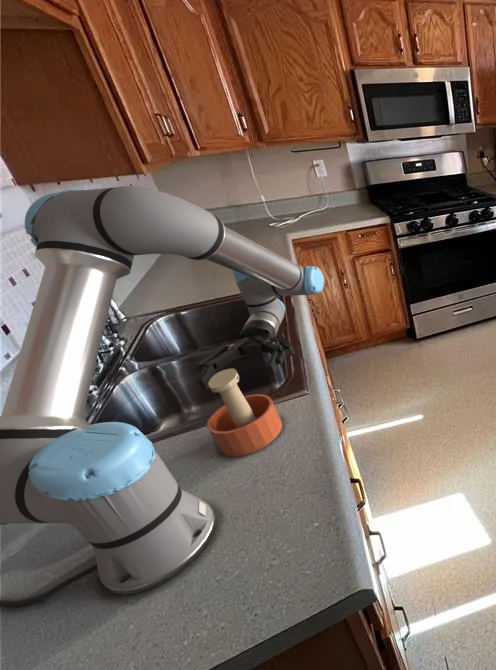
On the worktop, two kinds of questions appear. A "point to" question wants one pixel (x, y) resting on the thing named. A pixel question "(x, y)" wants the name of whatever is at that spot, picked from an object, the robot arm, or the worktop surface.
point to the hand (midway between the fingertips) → (237, 377)
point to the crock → (246, 427)
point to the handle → (232, 397)
